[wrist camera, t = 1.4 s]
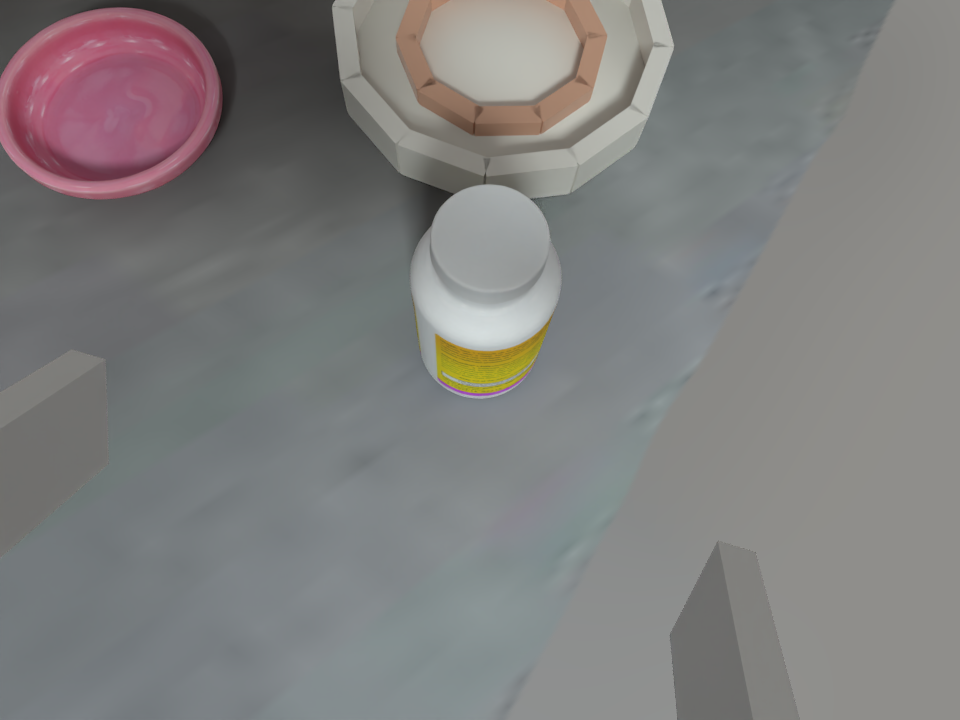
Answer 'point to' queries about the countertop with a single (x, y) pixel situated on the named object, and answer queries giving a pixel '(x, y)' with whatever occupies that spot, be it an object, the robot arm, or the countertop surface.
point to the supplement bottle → (484, 290)
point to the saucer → (109, 103)
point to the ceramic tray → (502, 86)
